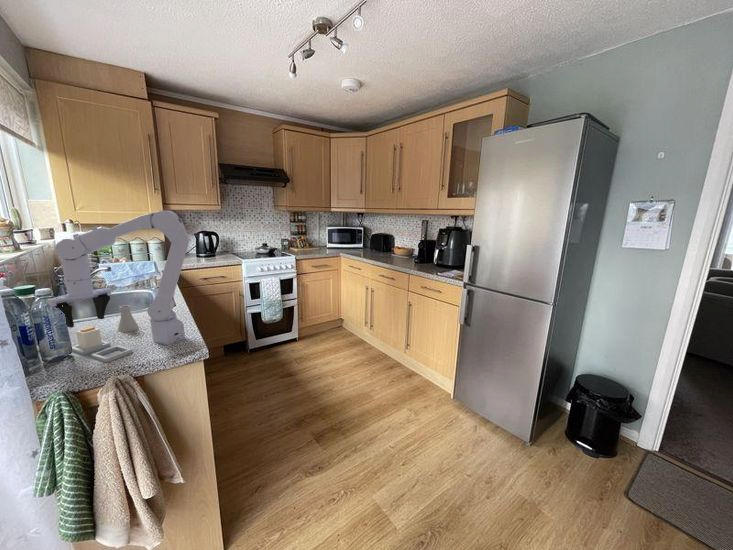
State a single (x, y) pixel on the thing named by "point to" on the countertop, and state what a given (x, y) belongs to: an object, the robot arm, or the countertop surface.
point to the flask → (126, 320)
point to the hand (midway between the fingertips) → (86, 322)
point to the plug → (89, 338)
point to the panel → (102, 352)
